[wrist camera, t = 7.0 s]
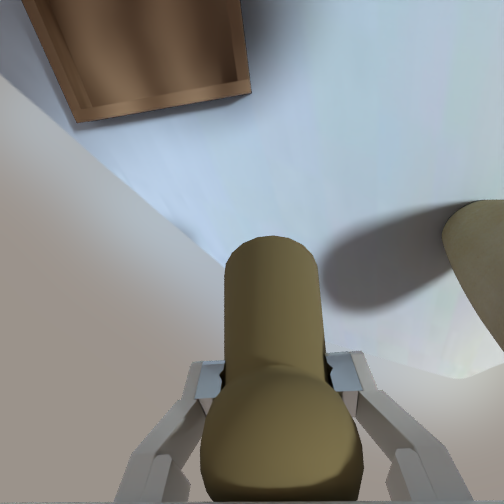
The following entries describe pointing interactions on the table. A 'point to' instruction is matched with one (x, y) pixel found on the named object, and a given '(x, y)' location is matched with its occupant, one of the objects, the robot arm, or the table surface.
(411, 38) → the table surface
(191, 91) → the walnut tray
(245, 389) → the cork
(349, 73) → the table surface
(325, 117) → the table surface
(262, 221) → the table surface
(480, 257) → the plant pot
